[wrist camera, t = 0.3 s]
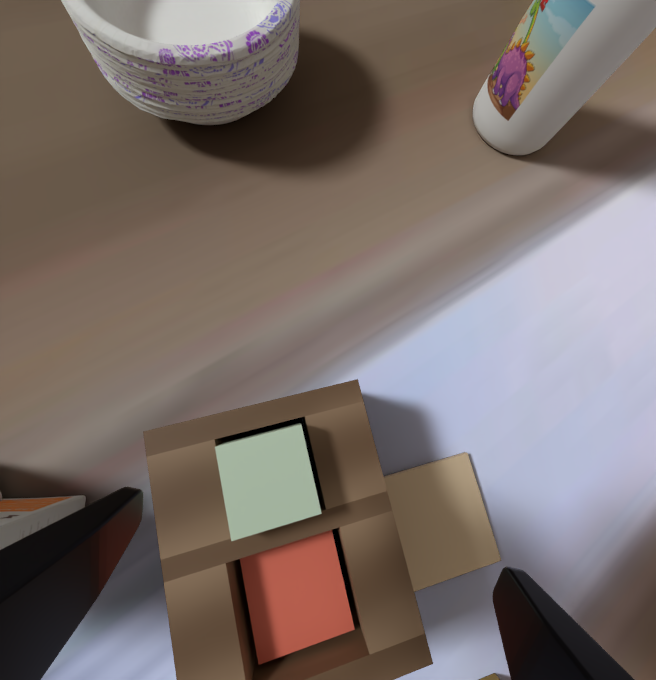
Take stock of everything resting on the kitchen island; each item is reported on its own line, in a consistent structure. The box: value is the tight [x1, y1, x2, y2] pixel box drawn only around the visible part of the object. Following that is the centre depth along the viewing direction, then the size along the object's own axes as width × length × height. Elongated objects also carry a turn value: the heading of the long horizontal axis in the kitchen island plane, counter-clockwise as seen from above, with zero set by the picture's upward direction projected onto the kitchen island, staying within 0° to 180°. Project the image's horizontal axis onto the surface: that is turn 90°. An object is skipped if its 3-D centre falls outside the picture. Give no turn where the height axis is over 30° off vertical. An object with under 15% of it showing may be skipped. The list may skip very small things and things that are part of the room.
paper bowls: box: [61, 0, 300, 125], centre depth 24 cm, size 15×15×8 cm
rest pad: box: [383, 452, 501, 592], centre depth 22 cm, size 7×7×1 cm
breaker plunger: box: [240, 530, 355, 665], centre depth 18 cm, size 5×5×2 cm
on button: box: [215, 423, 322, 541], centre depth 16 cm, size 4×4×3 cm
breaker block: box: [143, 379, 433, 680], centre depth 19 cm, size 14×11×6 cm
